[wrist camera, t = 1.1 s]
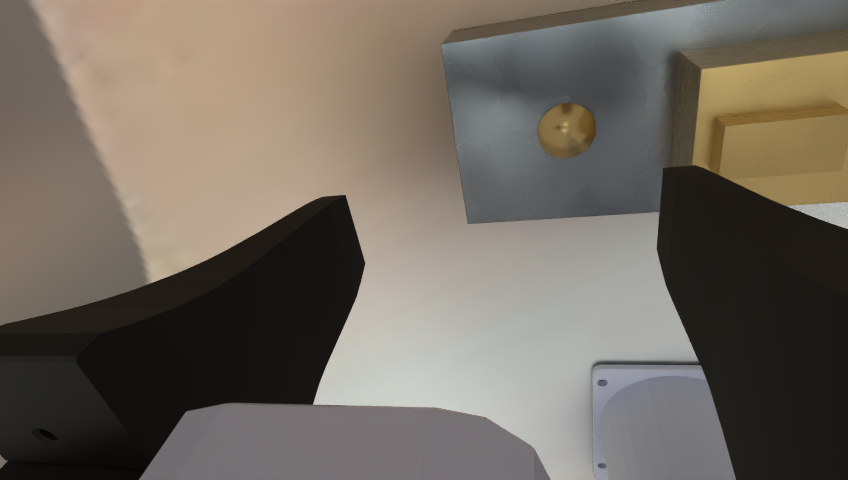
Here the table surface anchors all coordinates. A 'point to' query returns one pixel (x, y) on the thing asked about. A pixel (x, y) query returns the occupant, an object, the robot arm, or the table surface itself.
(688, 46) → the steel plate with brass
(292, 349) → the robot arm
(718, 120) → the lever cap
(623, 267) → the table surface
